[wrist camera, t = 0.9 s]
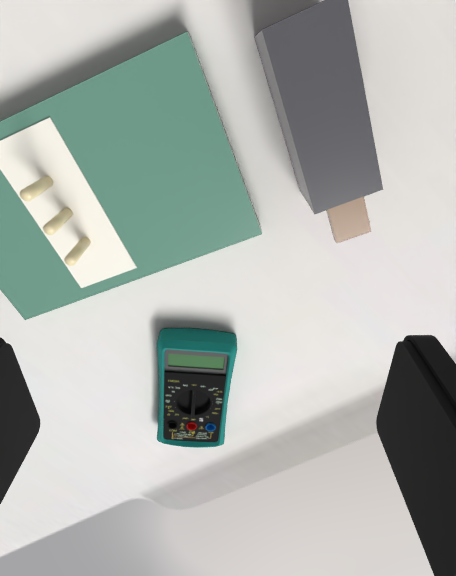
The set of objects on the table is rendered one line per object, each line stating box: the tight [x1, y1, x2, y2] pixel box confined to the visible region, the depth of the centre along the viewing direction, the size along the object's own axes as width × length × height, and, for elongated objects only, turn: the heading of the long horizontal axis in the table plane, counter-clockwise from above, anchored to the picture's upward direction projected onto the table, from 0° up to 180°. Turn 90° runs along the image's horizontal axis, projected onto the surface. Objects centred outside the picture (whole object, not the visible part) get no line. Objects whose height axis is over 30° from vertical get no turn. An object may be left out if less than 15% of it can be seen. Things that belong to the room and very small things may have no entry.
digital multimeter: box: [157, 328, 237, 447], centre depth 39 cm, size 7×15×3 cm, turn 174°
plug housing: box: [254, 0, 383, 243], centre depth 25 cm, size 4×14×6 cm, turn 21°
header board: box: [0, 32, 262, 320], centre depth 27 cm, size 22×14×5 cm, turn 111°
